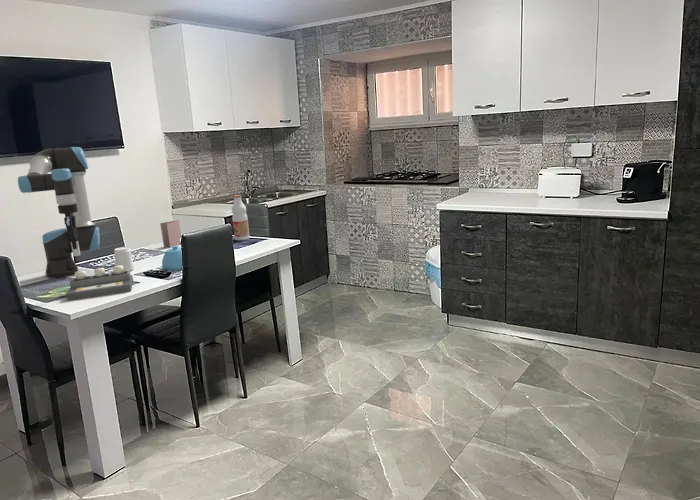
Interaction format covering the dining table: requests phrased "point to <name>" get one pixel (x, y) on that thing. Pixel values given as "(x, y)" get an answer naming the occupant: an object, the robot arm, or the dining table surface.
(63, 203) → the robot arm
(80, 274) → the button
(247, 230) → the fruit juice
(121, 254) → the beverage can
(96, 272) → the middle button
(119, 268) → the button
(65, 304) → the dining table surface
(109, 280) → the button panel
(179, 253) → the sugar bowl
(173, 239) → the pink rectangular block
